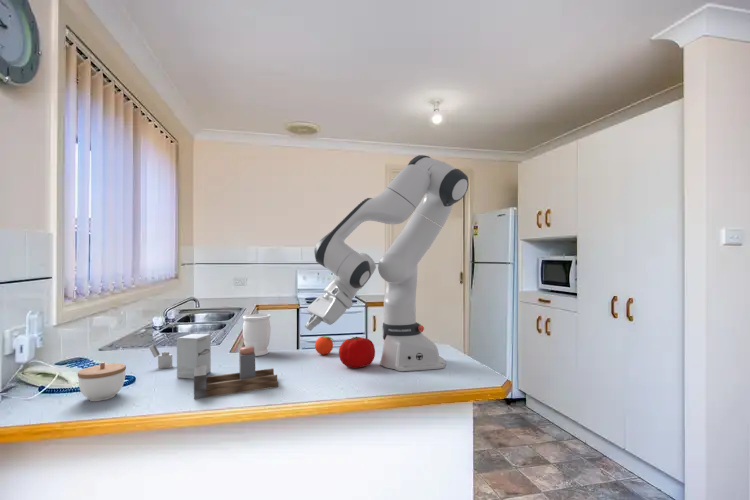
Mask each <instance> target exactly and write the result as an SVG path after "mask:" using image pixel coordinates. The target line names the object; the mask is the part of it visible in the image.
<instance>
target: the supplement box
mask: <svg viewBox="0 0 750 500" xmlns="http://www.w3.org/2000/svg"><path fill="white" fill-rule="evenodd" d="M211 340H212V339H211V334H209V333H190V334H186V335H184V336H180V337H177V338H176V378H178V379H179V378H180V379H193V380H194V372H195V367H197V366H206V371H207V374H209V373H211V365H212V364H211V363H212V359H211V354H212V353H211V350H212V349H211V347H212V346H211Z"/></svg>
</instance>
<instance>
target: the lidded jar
mask: <svg viewBox="0 0 750 500" xmlns="http://www.w3.org/2000/svg"><path fill="white" fill-rule="evenodd" d="M126 366H127V365H126V364H124V363H115V362H114V363H106V362H104V361H103V362H102V361H101V362H100V363H99V364H97V365H92V366H89V367H85V368H83V369H80V370H79V371H78V372H77V377H78V387H79V391H80V393H81V394H82V396H83V397H85V399H88V401H89V400H90V402H100V401H106V400H110V399H113V398H114V397H116V396H117V394H118V393H119V392H120V390H122V388H123V386H124V384H125V380H126V369H127V367H126Z"/></svg>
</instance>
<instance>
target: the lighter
mask: <svg viewBox="0 0 750 500" xmlns="http://www.w3.org/2000/svg"><path fill="white" fill-rule="evenodd" d="M148 348H149V350H150V352H151V354H152V356H153V358H156V357H157V368H158V369H169V368H170V369H171V368H172V367H173V353H170V352H169V351H162V352H161V353H160V351H159V349H158V348H157V346H156V344H152V345H149V346H148Z"/></svg>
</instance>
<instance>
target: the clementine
mask: <svg viewBox="0 0 750 500" xmlns="http://www.w3.org/2000/svg"><path fill="white" fill-rule="evenodd" d="M334 344H335V339H333V338H332V337H331V336H326V335H322V336H320V337H319V338H317V339H316V340H315V344H314V348H315V351H316V352H317V354H320V355H323V356H325V355H328V354H330V353H331V352H332V351H333V348H334Z"/></svg>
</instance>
